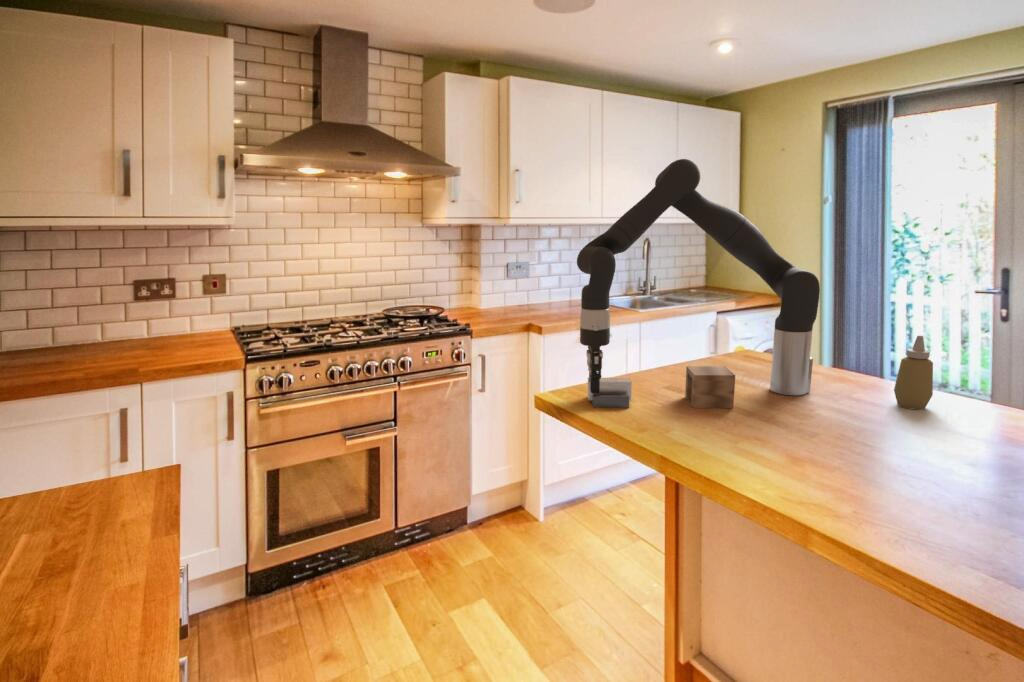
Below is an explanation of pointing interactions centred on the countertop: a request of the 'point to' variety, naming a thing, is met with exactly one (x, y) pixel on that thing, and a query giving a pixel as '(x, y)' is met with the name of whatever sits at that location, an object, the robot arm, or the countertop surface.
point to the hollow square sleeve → (710, 386)
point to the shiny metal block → (612, 387)
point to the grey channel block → (611, 401)
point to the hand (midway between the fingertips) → (594, 388)
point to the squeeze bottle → (915, 378)
